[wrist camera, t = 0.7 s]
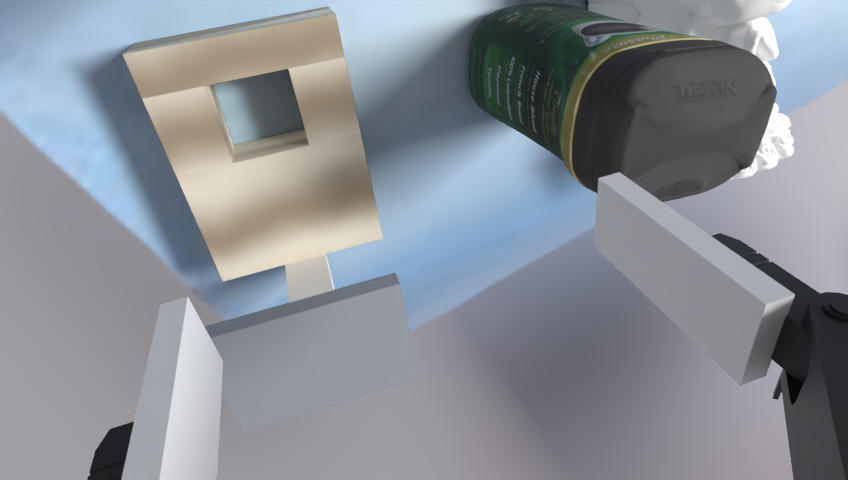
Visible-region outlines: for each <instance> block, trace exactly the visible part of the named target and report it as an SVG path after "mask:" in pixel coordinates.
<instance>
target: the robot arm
mask: <svg viewBox="0 0 848 480" xmlns="http://www.w3.org/2000/svg"><path fill="white" fill-rule="evenodd" d="M594 246H595V247H596V248H597V249H598V250H599V251H600V252H601V253H602V254H603V255H604V256H605V257H606V258H607V259H608V260H610V261H611V262H612V263H613V264H614V265H615V266H616V267H617V268H618V269H619V270H620V271H621V272H622V273H623V274H624V275H625V276H626V277H627V278H628V279H629V280H630V281H631V282H632V283H634V284H635V285H636V286H637V287H638V288H639V289H640V290H641V291H642V292H643V293H644V294H645V295H646V296H647V297H648V298H649V299H650V300H651V301H652V302H653V303H654V304H656V305H657V306H658V307H659V308H660V309H661V310H662V311H663V312H664V313H665V314H666V315H667V316H668V317H669V318H670V319H671V320H672V321H673V322H674V323H675V324H676V325H677V326H678V327H680V328H681V329H682V330H683V331H684V332H685V333H686V334H687V335H688V336H689V337H690V338H691V339H692V340H693V341H694V342H695V343H696V344H698V346H699V347H700V348H701V349H702V350H704V351H705V352H706V353H707V354H708V355H709V356H710V357H711V358H712V359H713V360H714V361H715V362H716V363H717V364H718V365H719V366H720V367H721V368H722V369H723V370H724V371H725V372H726V373H728V374H729V375H730V376H731V377H732V378H733V379H734V380H735V381H736V382H737V383H738V384H739V385H742V384H745V383H747V382H750V381H753V380H756V379H758V378H761V377H763V376H765V375H766V373H767V370H768V368H769V365H770V362H771V360H772V359H773V360H774V361H775V362H776V363H777V364H778V365H780V366H781V367H782V368H783V370H782V373H781V375H780V378H779V380H778V383H777V386H776V388H775V391H774V396H773V399H778V398H779V396H780V393H781V392H782V394H783V401H784V410H785V418H786V425H787V433H788V440H789V448H790V455H791V463H792V470H793V478H794V480H848V295H845V294H841V293H829V292H826V293H821V294H820V293H818V292H817V291H815V290H814V289H812V288H811V287H809V286H808V285H806V284H805V283H803V282H802V281H800V280H799V279H797V278H796V277H794V276H793V275H791V274H790V273H788V272H787V271H785V270H784V269H782V268H781V267H779V266H778V265H776V264H775V263H773V262H769V259H767V258H766V257H764V256H763V255H761V254H760V253H759V254H757V253H756V251H755V250H754V249H752V248H751V247H749V246H747V245H746V244H745V243H743V242H741V241H740V240H737V239H734V238H732V237H729V236H726V235H723V234H721V233H720V234H716V235H713V236H710V235H709V234H708V233H706V232H705V231H703V230H702V229H700V228H699V227H697V226H696V225H695V224H693V223H692V222H690V221H689V220H687V219H686V218H684V217H683V216H682V215H680V214H679V213H677V212H676V211H674V210H673V209H672V208H670V207H669V206H667V205H666V204H664V203H663V202H662V201H660V200H659V199H657V198H656V197H654V196H653V195H651V194H650V193H649V192H647V191H646V190H644V189H643V188H641V187H640V186H639V185H637V184H636V183H634V182H633V181H631V180H630V179H628V178H627V177H626V176H624V175H623V174H621V173H620V172H618V173H614V174H611V175H607V176H604V177H600V178H598V192H597V210H596V227H595V244H594ZM222 373H223V360H222V358H221V356H220V354H219V353H218V351H217V349H216V347H215V345H214V343H213V342H212V340H211V338H210V336H209V334H208V333H207V331H206V329H205V327H204V325H203V323H202V322H201V320H200V318H199V316H198V314H197V313H196V311H195V309H194V307H193V305H192V303H191V301H190V300H189V298H188V296H187V297H183V298H180V299H176V300H173V301H169V302H166V303H163V304H160V307H159V312H158V316H157V321H156V325H155V330H154V334H153V339H152V343H151V348H150V352H149V357H148V362H147V366H146V371H145V375H144V379H143V384H142V388H141V393H140V398H139V402H138V406H137V411H136V416H135V420H134V422H131V423H128V424H125V425H122V426H119V427H116V428H112V429H110V430H109V431H108V433H107V435H106V436H105V438H104V439H103V441H102V442H101V443H100V445H99V446H98V448H97V449H96V451H95V455H94V458H93V462H92V465H91V469H90V476H89V477H88V479H87V480H217V468H218V448H219V430H220V411H221V392H222Z"/></svg>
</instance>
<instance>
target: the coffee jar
mask: <svg viewBox="0 0 848 480" xmlns="http://www.w3.org/2000/svg"><path fill="white" fill-rule="evenodd" d="M469 82H470V89H471V94H472V96H473V98H474V100H475V102H476V103H477V105H478V106H479V107H480V108H482V109H483V110H484V111H486V112H487V113H489V114H490V115H492V116H493V117H494V118H496V119H498V120H499V121H501V122H503V123H505V124H506V125H508V126H510V127H511V128H513V129H515V130H517V131H518V132H520V133H522V134H523V135H525V136H527V137H528V138H530V139H531V140H533V141H534V142H536V143H537V144H539V145H541V146H542V147H544V148H545V149H547V150H548V151H550V152H551V153H553V154H555V155H556V156H557V157H559V158H560V159H561V160H563V161H564V163H565V165H566V167H567V169H568V170H569V172H570V173H571V175H572V176H573V177H574V178H575V179H576V180H577V181H578V182H579V183H580V184H582V185H583V186H585V187H587V188H588V189H590V190H592V191H594V192H596V193H597V192H598V178H600V177H604V176H607V175H611V174H614V173H618V172H620V173H621V174H623V175H624V176H626V177H627V178H628V179H630V180H631V181H633V182H634V183H636V184H637V185H639V186H640V187H641V188H643V189H644V190H646V191H647V192H649V193H650V194H651V195H653V196H654V197H656V198H657V199H659V200H660V201H662V202H665V201H670V200H674V199H679V198H682V197H687V196H691V195H696V194H700V193H703V192H706V191H708V190H710V189H713V188H715V187H716V186H719V185H720V184H722V183H724V182H726V181H727V180H729V179H730V178H732V177H733V176H735V175H736V174H737V173H739V172H740V171H741V170H742V169H746V168H748V167H749V166H751V164H752V163H753V160H754V158H755V156H756V153H757V151H758V148H759V146H760V143H761V141H762V138H763V136H764V133H765V131H766V128H767V125H768V122H769V119H770V116H771V113H772V109H773V106H774V102H775V99H776V94H777V90H776V88H775V86H774V84H773V81H772V77H771V75H770V73H769V70H768V68H767V67H766V65H765V64H764V63H763V62H762V60H760V59H759V58H758V57H757V56H756V55H754V54H753V53H751V52H749V51H747V50H744V49H741V48H738V47H736V46H733V45H730V44H728V43H725V42H722V41H718V40H713V39H707V38H702V37H696V36H690V35H685V34H679V33H673V32H668V31H663V30H659V29H655V28H650V27H646V26H643V25H639V24H635V23H631V22H628V21H624V20H620V19H616V18H612V17H609V16H605V15H602V14H598V13H595V12H591V11H588V10H584V9H581V8H577V7H573V6H568V5H561V4H529V5H519V6H514V7H509V8H505V9H501V10H498V11H496V12H493V13H491V14H490V15H488V16H487V17H486V18H485V19H484V20H483V21H482V22H481V23H480V24H479V26H478V27H477V29H476V31H475V33H474V36H473V39H472V43H471V48H470V55H469Z"/></svg>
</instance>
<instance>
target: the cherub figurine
mask: <svg viewBox="0 0 848 480" xmlns="http://www.w3.org/2000/svg"><path fill="white" fill-rule="evenodd" d="M587 1H588V2H589V5H588V11H591V12H595V13H598V14H602V15H605V16H609V17H612V18H616V19H620V20H624V21H628V22H631V23H635V24H639V25H643V26H646V27H650V28H655V29H659V30H663V31H668V32H673V33H679V34H685V35H690V36H696V37H702V38H707V39H713V40H718V41H722V42H725V43H728V44H730V45H733V46H736V47H738V48H741V49H744V50H747V51H749V52H751V53H753V54H754V55H756V56H757V57H758V58H759V59H760V60H762V62H763V63H764V64H765V65H766V67H767V68H768V70H769V73H770V75H771V77H772V81H773V84H774V86H775V85H776V82H775V78H774V76H773V74H772V69H771V66H770V65H769V63H768V62H767V61H770V60H774V59H775V58H776V57H777V56H778V54H779V50H778V47H777V43H776V38H775V35H774V32H773V29H772V27H771V25H770V23H769V21H768V20H767V19H766V18H764V16H768V15H771V14H774V13H777V12H779V11H781V10H782V9H784V8H785V7H786V6H787V5H788V4H789V3H790V2H791V1H792V0H587ZM778 110H779V107H778V105H777V104H775V103H774V106H773V109H772V113H771V116H770V119H769V122H768V125H767V128H766V131H765V133H764V136H763V138H762V141H761V143H760V146H759V148H758V151H757V153H756V156H755V158H754V160H753V163H752V164H751V166H749V167H748V168H746V169H742V170H741V171H740V172H739V173H737V174H736V175H735V176H733V177H732V178H730V179H737V178H744V177H750V176H752V175H753V174H754V173H755V171H757V170H766V169H770V168H773V167H775V166H776V165H777V162H778V159H781V158H786V157H789V156H791V155H792V154H793V152H794V148H793V146H792V144H793V142H794V139H793V137H792V136H791V135H790V130H789V129H788V127H790V126H791V123H790V122H789V118H788V117H787V116H785V115H784V114H782V113H777V112H778Z"/></svg>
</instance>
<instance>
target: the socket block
mask: <svg viewBox="0 0 848 480" xmlns="http://www.w3.org/2000/svg"><path fill="white" fill-rule="evenodd" d="M122 55H123V57H124V59H125V61H126V64H127V66H128V68H129V71H130V73H131V75H132V77H133V80H134V82H135V84H136V86H137V89H138V91H139V93H140V95H141V98H142V100H143V102H144V104H145V107H146V109H147V111H148V113H149V116H150V118H151V120H152V122H153V125H154V127H155V129H156V132H157V134H158V136H159V138H160V141H161V143H162V145H163V147H164V150H165V152H166V154H167V156H168V159H169V161H170V163H171V165H172V168H173V170H174V172H175V174H176V177H177V179H178V181H179V183H180V186H181V188H182V190H183V193H184V195H185V197H186V199H187V202H188V204H189V206H190V208H191V211H192V213H193V215H194V217H195V220H196V222H197V224H198V226H199V229H200V231H201V233H202V235H203V238H204V240H205V242H206V244H207V247H208V249H209V251H210V254H211V256H212V258H213V260H214V263H215V265H216V267H217V269H218V272H219V274H220V276H221V278H222V281H223V282H224V281H228V280H231V279H235V278H239V277H242V276H246V275H250V274H253V273H257V272H261V271H265V270H268V269H272V268H276V267H279V266H283V265H287V264H290V263H294V262H298V261H302V260H305V259H309V258H313V257H316V256H320V255H324V254H327V253H331V252H335V251H339V250H342V249H346V248H350V247H353V246H357V245H361V244H365V243H368V242H372V241H376V240H379V239H383V236H382V231H381V227H380V222H379V217H378V212H377V208H376V203H375V198H374V193H373V189H372V184H371V179H370V175H369V170H368V165H367V160H366V156H365V151H364V146H363V141H362V137H361V132H360V127H359V123H358V118H357V113H356V108H355V104H354V99H353V94H352V90H351V85H350V80H349V75H348V71H347V66H346V61H345V56H344V52H343V47H342V42H341V38H340V33H339V28H338V23H337V19H336V14H335V13H334V12H333V11H332V10H331V9H330V8H329V7H324V8H319V9H314V10H308V11H303V12H298V13H292V14H287V15H282V16H277V17H271V18H266V19H261V20H255V21H250V22H245V23H239V24H234V25H229V26H223V27H218V28H213V29H207V30H202V31H197V32H191V33H186V34H181V35H175V36H170V37H165V38H159V39H154V40H149V41H143V42H138V43H134V44H133V45H132V46H131V47H130V48H129V49H128V50H127V51H126V52H125V53H123V54H122ZM285 69H288V70H289V73H290V77H291V81H292V84H293V88H294V92H295V95H296V99H297V103H298V106H299V110H300V114H301V117H302V121H303V125H304V128H305V129H301V130H296V131H292V132H288V133H283V134H279V135H274V136H270V137H266V138H261V139H257V140H252V141H248V142H244V143H239V144H235V145H234V144H233V141H232V138H231V135H230V132H229V130H228V127H227V124H226V121H225V119H224V116H223V113H222V110H221V107H220V105H219V102H218V99H217V96H216V94H215V91H214V88H213V85H212V84H217V83H222V82H226V81H231V80H236V79H241V78H246V77H251V76H256V75H261V74H265V73H270V72H275V71H280V70H285Z"/></svg>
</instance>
